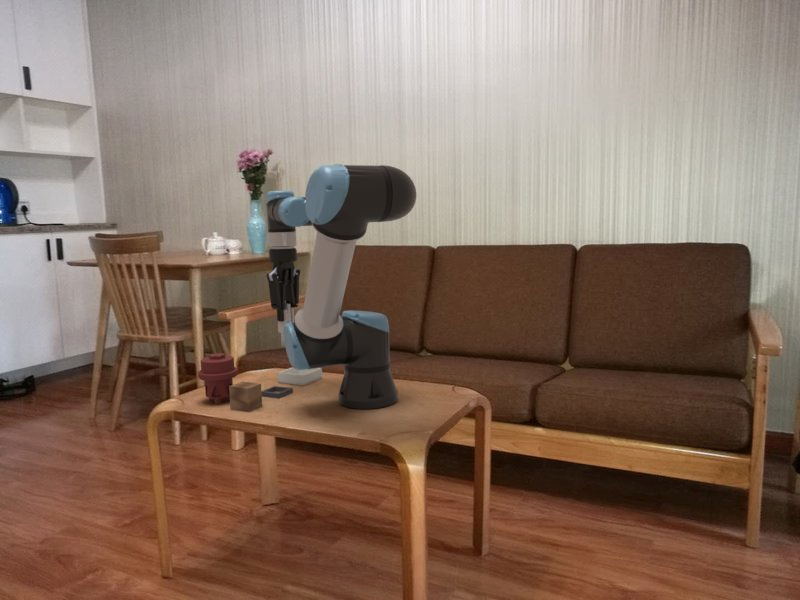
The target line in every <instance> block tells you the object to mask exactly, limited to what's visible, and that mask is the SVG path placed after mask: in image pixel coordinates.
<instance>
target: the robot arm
mask: <svg viewBox="0 0 800 600" xmlns="http://www.w3.org/2000/svg"><path fill="white" fill-rule="evenodd" d="M306 184H307V185H306V189H305V194H304V195H305V196H295V194H294V192H293V191H291V190H270V191H268V192H267V193H266V203H265V205H266V215H267V216H266V217H267V231H268V246H269V250H268V257H269V262H270V263H272V269H271V272H269V273H268V272H267V273H266V279H267V281H268V290H269V298H270V305H271V308H272V309H273V310H276V318H277V330H278V333H280V334H281V333H284V342H285V347H284V348H285V351H286V356H287V358H288V362H289V363H290V365H291V366H292V367H293V368H295V369H297V370H304V369H308V370H309V369H314V368H326V367H335V366H341V365H344V367H343V368H344V373H343V377H342V382H341V384H340V387H339V390H338V391H339V392H338V403H339V404H340V405H341V406H343V407H345V408H350V409H356V410H357V409H358V410H359V409H360V410H371V409H379V408H380V409H381V408H386V407H388V406H392V405H394V404H396V403H397V402H398V399H399V397H398V396H399V394H398V389H397V386H396V383H395V381H394V378H393V375H392V372H391V358H390V357H391V355H390V354H391V353H390V332H391V330H390V325H389V320H388V317H387V316H386V314H383V313H381V312H375V311H365V310H353V309H352V310H350V309H349V310H344V311H342V305H343V300H344V296H345V292H346V288H347V283H348V278H349V275H350V274H349V273H350V270H351V266H352V261H353V257H354V253H355V249H356V245H357V241H358V240H360V239H362V238H364V236H365V234H366V232H367V229H368V225H369V224H370V223H382V222H385V223H386V222H393V221H396V220H397V221H398V220H401V219H402V218H404V217H406V216H408V214H410V213H411V211H412V210H413V208H414V207H415V205H416V202H417V188H416V185H415V183H414V181H413V180H412V178H411V177H410V176H409V174H408V173H406V172H404V171H403V170H401V169H400V168H398V167H394V166H391V165H384V164H382V165H363V164H362V165H359V164H358V165H357V164H355V165H354V164H351V165H350V164H348V165H347V164H346V165H345V164H341V163H335V164H329V165H328V164H327V165H326V164H325V165H324V164H323V165H321V166H319V167H317V168H316V169H315V170H314V171H313V172H312V173H311V175H310V177H309V179H308V181H307V183H306ZM311 226H312V227H313V229H314V230H315V231H316V236H315V241H314V245H313V246H314V248H313V251H312V252H313V253H312V257H311V262H310V263H311V264H310V269H309V275H308V280H307V284H306V285H307V286H306V289H305V291H306V292H305V296H304V302H303V305H302V306H303V307H302V308H300V309H299V310H298V311H296V313H295V308H298V306H299V303H300V299H299V297H300V274H301V269H297V268H295V267H296V266H295V264H294V263H295V262H297V260H298V253H297V252H298V250H297V248H296V246H297V245H298V244H297V229H296V227H297V228H298V227H311ZM285 303H290V304H291V322H289V323H288V321H287V309H285ZM341 311H342V313H341ZM340 313H341V315H340Z"/></svg>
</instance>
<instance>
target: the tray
mask: <svg viewBox="0 0 800 600" xmlns="http://www.w3.org/2000/svg"><path fill="white" fill-rule="evenodd" d="M322 379H323V367H321V368H314V369H309V370H308V369H304V370H297V369H295V368H293V366H292V367H289V368H287V369H283V370H281V371H279V372H277V383H278V384H286V385H293V386H294V385H295V386H302V387H303V386H304V387H305V386H307V385H310V384H311V383H315V382H317V381H319V380H322Z"/></svg>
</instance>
